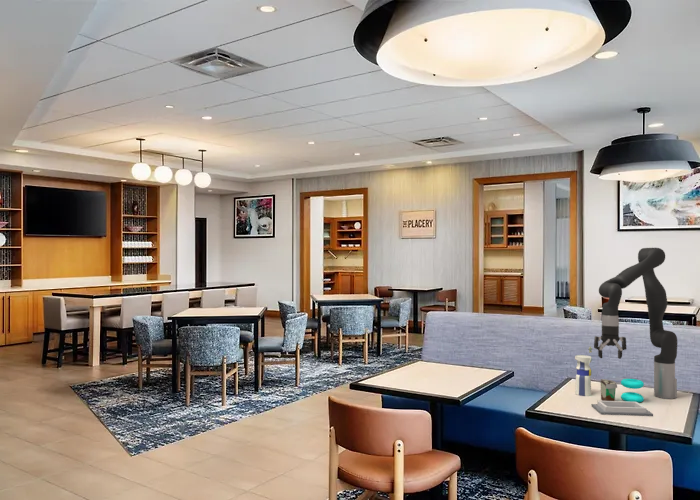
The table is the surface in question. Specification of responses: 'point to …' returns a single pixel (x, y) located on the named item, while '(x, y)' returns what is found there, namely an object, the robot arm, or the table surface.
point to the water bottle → (583, 375)
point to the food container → (608, 390)
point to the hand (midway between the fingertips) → (610, 358)
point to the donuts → (632, 395)
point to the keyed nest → (621, 408)
